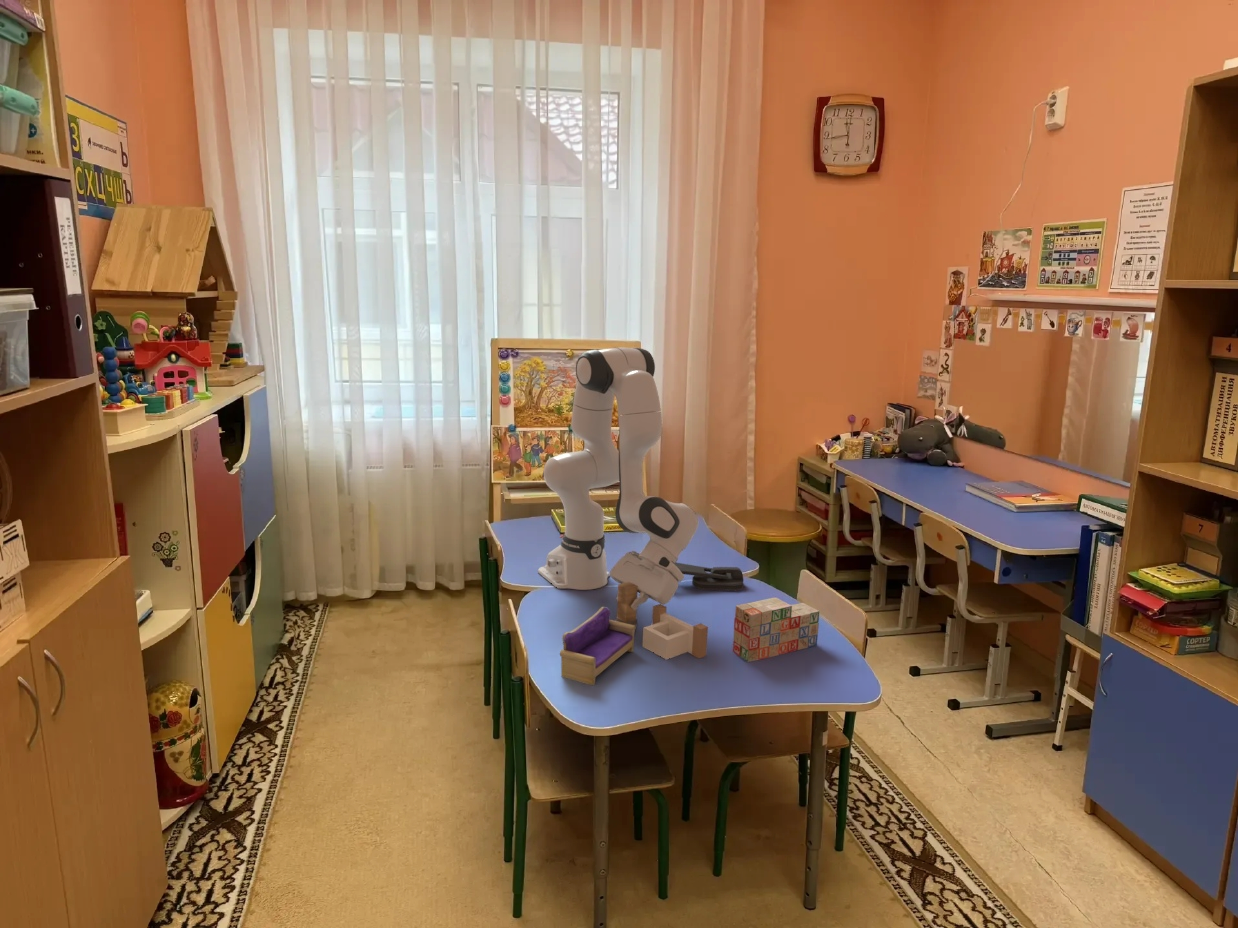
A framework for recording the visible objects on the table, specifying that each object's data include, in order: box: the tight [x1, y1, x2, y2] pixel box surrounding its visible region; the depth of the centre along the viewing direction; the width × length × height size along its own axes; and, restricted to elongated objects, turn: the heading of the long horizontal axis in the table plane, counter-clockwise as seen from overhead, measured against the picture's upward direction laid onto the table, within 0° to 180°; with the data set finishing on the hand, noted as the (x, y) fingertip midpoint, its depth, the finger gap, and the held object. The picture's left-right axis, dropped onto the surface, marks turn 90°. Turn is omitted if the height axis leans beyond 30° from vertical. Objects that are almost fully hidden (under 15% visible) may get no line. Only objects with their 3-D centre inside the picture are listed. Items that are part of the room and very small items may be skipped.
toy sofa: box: [559, 606, 637, 686], centre depth 192 cm, size 21×9×10 cm, turn 152°
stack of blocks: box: [732, 596, 820, 663], centre depth 202 cm, size 21×6×12 cm, turn 118°
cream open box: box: [642, 603, 709, 660], centre depth 201 cm, size 17×9×8 cm, turn 40°
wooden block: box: [615, 582, 639, 628], centre depth 210 cm, size 4×4×11 cm
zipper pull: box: [675, 562, 744, 592], centre depth 242 cm, size 9×7×25 cm
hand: (625, 604), depth 210 cm, fingers closed on wooden block, 3 cm apart
